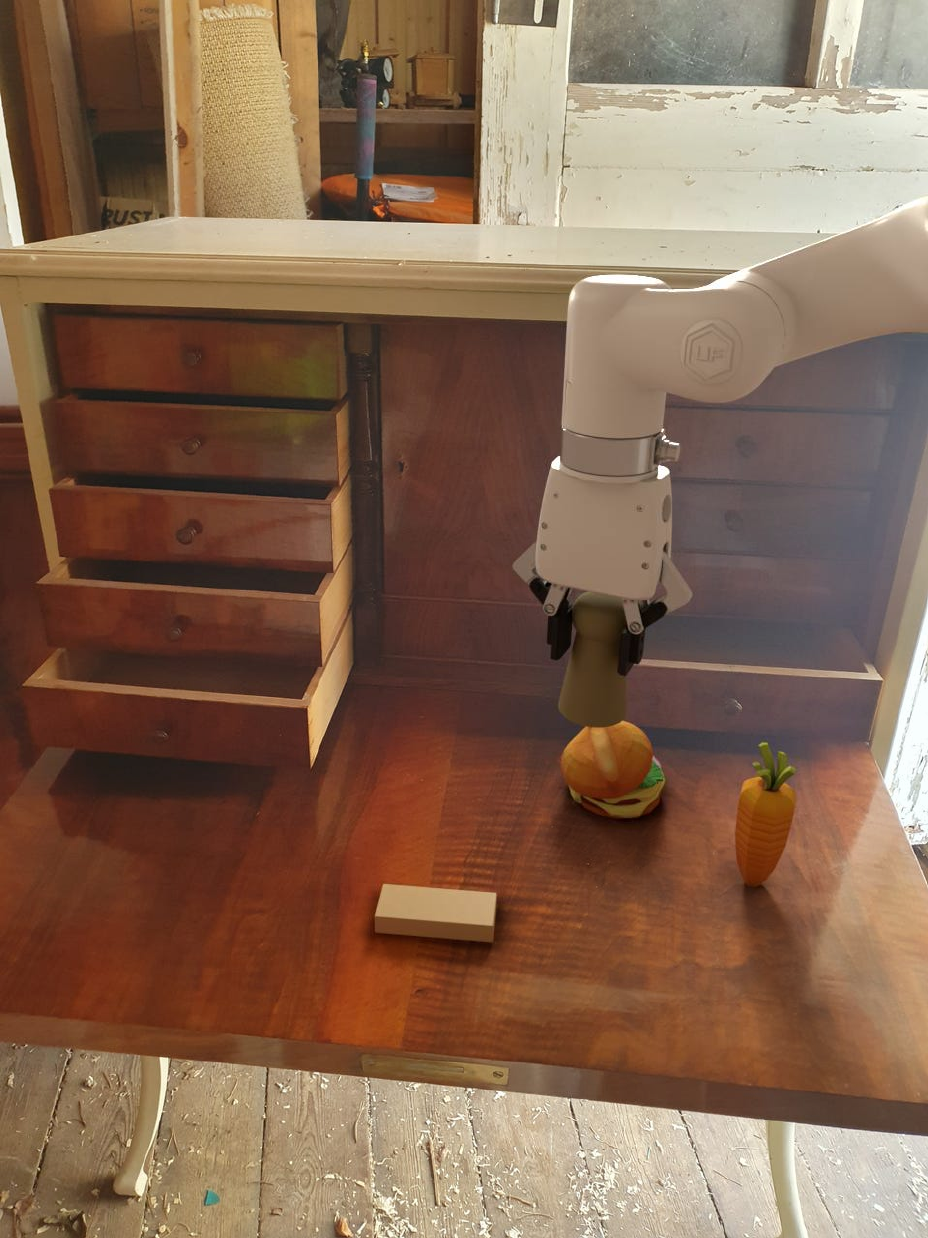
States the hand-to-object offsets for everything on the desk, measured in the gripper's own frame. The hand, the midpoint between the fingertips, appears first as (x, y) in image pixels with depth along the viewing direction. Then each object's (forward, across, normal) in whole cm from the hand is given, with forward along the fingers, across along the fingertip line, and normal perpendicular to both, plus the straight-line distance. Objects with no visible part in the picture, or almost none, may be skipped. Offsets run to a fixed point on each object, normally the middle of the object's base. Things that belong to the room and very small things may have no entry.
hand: (593, 658), depth 81 cm
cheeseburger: (+22, 0, -11) cm, 25 cm away
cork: (+6, 0, -2) cm, 6 cm away
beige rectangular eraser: (+22, +8, +13) cm, 27 cm away
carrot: (+22, -15, -4) cm, 27 cm away
